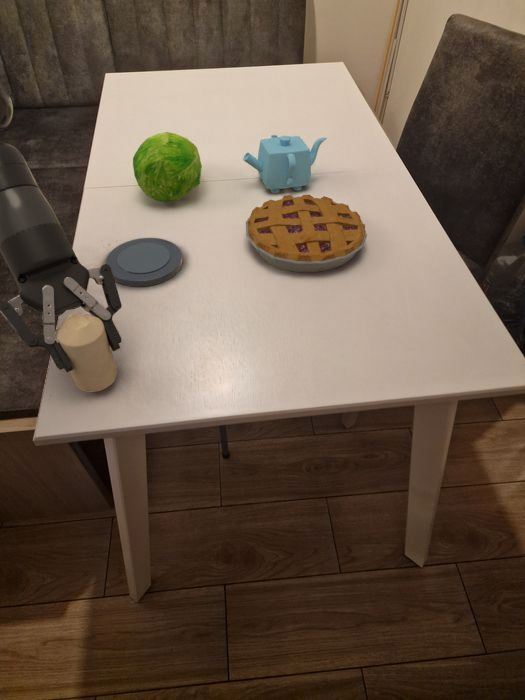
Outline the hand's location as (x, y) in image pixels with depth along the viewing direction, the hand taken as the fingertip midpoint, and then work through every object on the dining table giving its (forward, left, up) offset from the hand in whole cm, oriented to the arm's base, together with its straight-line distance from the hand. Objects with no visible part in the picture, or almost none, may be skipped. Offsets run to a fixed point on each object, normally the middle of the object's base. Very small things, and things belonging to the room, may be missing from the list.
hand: (93, 359), depth 60 cm
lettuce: (+9, +55, -6) cm, 57 cm away
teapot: (+33, +55, -6) cm, 65 cm away
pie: (+33, +31, -6) cm, 46 cm away
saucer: (+4, +28, -6) cm, 29 cm away
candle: (-1, +2, -5) cm, 5 cm away
